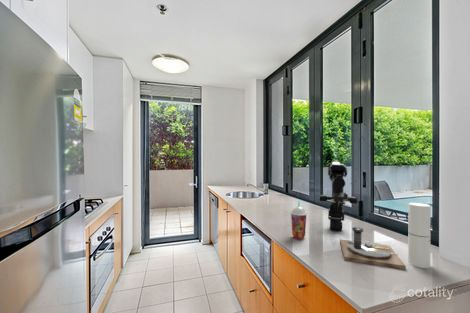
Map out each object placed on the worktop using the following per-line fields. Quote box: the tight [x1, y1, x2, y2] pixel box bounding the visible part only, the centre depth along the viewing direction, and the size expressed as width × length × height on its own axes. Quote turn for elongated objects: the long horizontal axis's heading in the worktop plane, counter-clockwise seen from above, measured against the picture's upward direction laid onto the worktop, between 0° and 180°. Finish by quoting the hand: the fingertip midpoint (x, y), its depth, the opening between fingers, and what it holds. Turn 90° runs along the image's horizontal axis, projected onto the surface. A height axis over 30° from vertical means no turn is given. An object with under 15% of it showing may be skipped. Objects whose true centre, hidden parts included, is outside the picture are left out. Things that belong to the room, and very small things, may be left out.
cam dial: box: [348, 226, 391, 258], centre depth 102 cm, size 17×17×10 cm
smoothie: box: [290, 201, 308, 241], centre depth 122 cm, size 8×8×20 cm
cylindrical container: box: [407, 202, 432, 269], centre depth 93 cm, size 7×7×25 cm
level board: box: [339, 238, 407, 271], centre depth 102 cm, size 22×22×2 cm
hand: (337, 214), depth 122 cm, fingers closed
